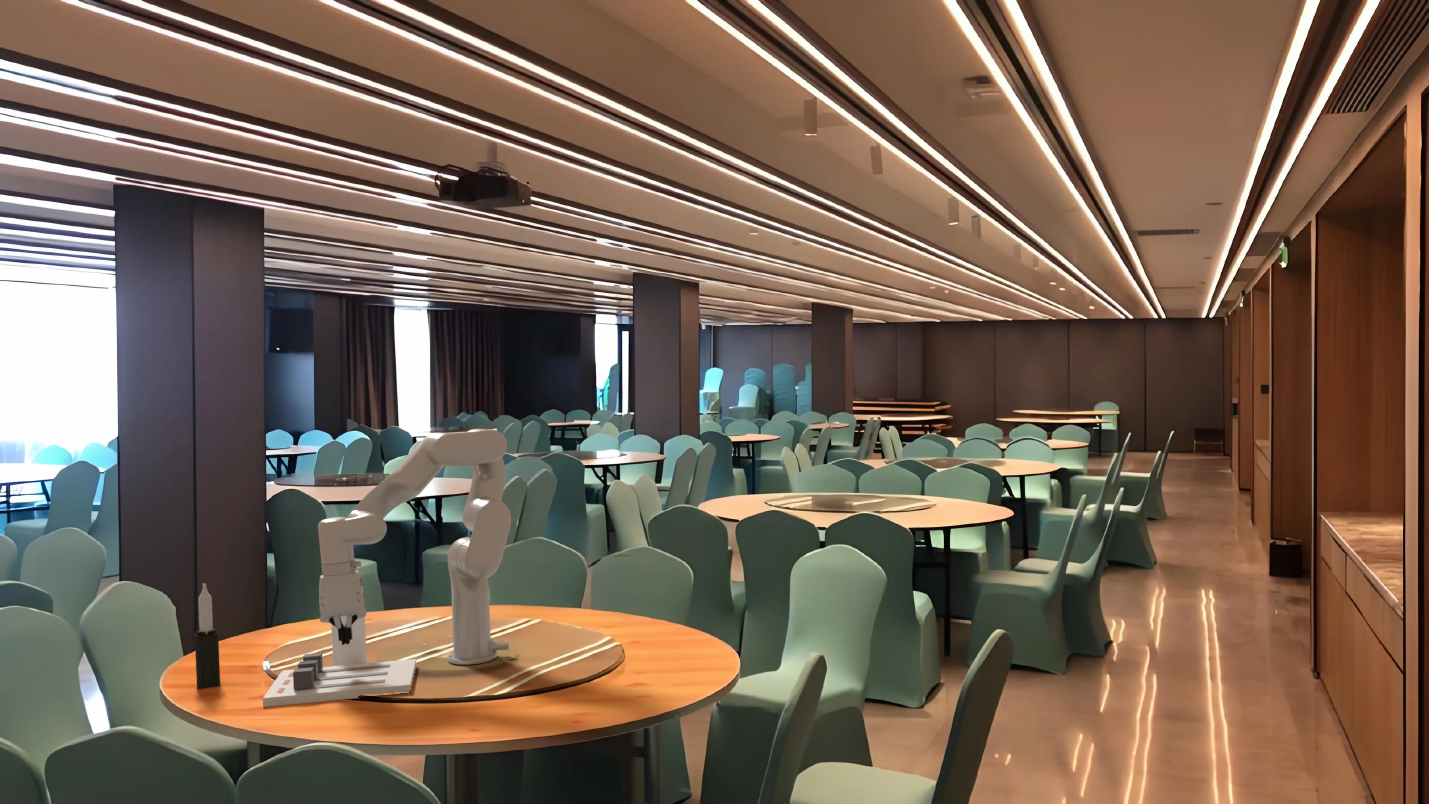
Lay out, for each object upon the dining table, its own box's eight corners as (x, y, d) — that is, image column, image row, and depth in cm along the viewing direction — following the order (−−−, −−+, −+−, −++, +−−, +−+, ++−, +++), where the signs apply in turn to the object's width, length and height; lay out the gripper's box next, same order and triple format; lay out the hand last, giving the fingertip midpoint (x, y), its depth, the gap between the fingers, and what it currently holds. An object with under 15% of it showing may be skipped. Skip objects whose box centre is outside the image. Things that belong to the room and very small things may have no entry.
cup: (355, 669, 266) (353, 606, 266) (326, 668, 268) (324, 606, 268) (372, 661, 274) (370, 600, 274) (344, 660, 276) (341, 599, 276)
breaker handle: (318, 676, 252) (317, 659, 252) (316, 679, 249) (315, 663, 249) (300, 677, 251) (299, 661, 251) (298, 681, 248) (297, 664, 248)
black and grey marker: (197, 689, 253) (192, 586, 252) (196, 684, 257) (192, 582, 257) (220, 685, 255) (216, 583, 255) (219, 681, 260) (215, 580, 259)
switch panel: (416, 666, 267) (415, 641, 267) (410, 693, 244) (409, 665, 243) (282, 678, 260) (281, 652, 260) (263, 706, 237) (262, 678, 236)
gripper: (372, 562, 259) (379, 635, 260) (308, 569, 256) (315, 643, 257) (369, 567, 252) (376, 642, 253) (303, 575, 249) (311, 651, 249)
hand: (346, 643), depth 255 cm, fingers closed
